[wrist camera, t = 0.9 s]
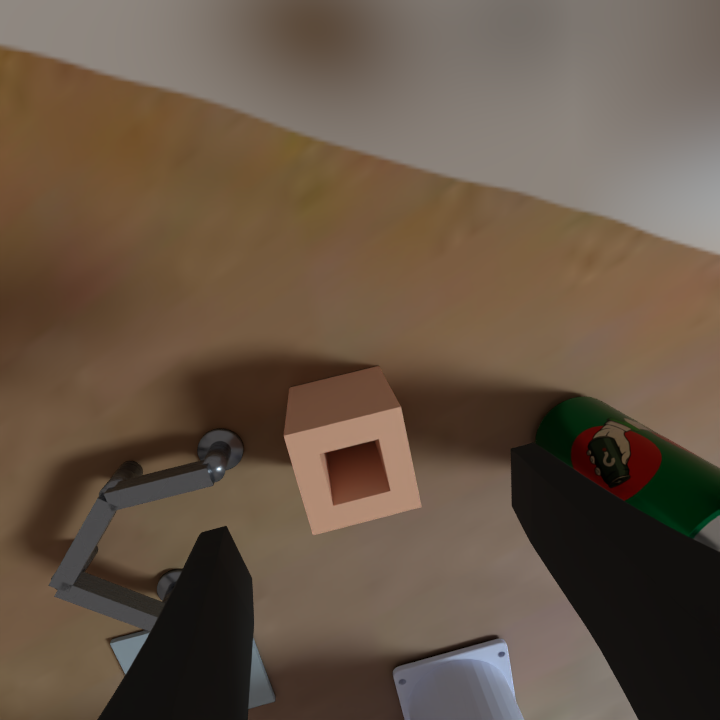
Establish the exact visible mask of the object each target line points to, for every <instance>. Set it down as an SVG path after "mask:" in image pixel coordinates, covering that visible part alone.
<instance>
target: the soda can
mask: <svg viewBox="0 0 720 720" xmlns="http://www.w3.org/2000/svg"><path fill="white" fill-rule="evenodd" d="M535 444H537V445H538V446H540V447H542V448H543V449H545V450H546V451H548V452H549V453H551V454H552V455H554V456H555V457H557V458H558V459H560V460H561V461H563V462H564V463H566V464H567V465H569V466H570V467H572V468H573V469H575V470H576V471H578V472H579V473H581V474H582V475H584V476H585V477H587V478H588V479H590V480H591V481H593V482H595V483H596V484H598V485H599V486H601V487H602V488H604V489H606V490H607V491H609V492H611V493H612V494H614V495H615V496H617V497H619V498H620V499H622V500H623V501H625V502H627V503H628V504H630V505H632V506H634V507H635V508H637V509H639V510H640V511H642V512H644V513H646V514H647V515H649V516H651V517H653V518H655V519H656V520H658V521H660V522H662V523H663V524H665V525H667V526H669V527H671V528H673V529H675V530H676V531H678V532H680V533H682V534H684V535H686V536H688V537H690V538H692V539H694V540H696V541H698V542H700V543H702V544H704V545H706V546H708V547H710V548H713V549H715V550H717V551H719V552H720V468H718V467H717V466H715V465H713V464H711V463H709V462H708V461H706V460H704V459H702V458H701V457H699V456H697V455H695V454H694V453H692V452H690V451H688V450H687V449H685V448H683V447H681V446H680V445H678V444H676V443H674V442H673V441H671V440H669V439H667V438H665V437H664V436H662V435H660V434H658V433H657V432H655V431H653V430H651V429H650V428H648V427H646V426H644V425H643V424H641V423H639V422H637V421H636V420H634V419H632V418H630V417H629V416H627V415H625V414H623V413H622V412H620V411H618V410H616V409H614V408H613V407H611V406H609V405H607V404H606V403H604V402H602V401H600V400H598V399H595V398H592V397H576V398H571V399H569V400H566V401H564V402H562V403H560V404H558V405H557V406H555V407H554V408H553V409H551V410H550V411H549V412H548V413H547V415H546V416H545V417H544V418H543V420H542V422H541V423H540V426H539V428H538V430H537V434H536V441H535Z"/></svg>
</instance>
